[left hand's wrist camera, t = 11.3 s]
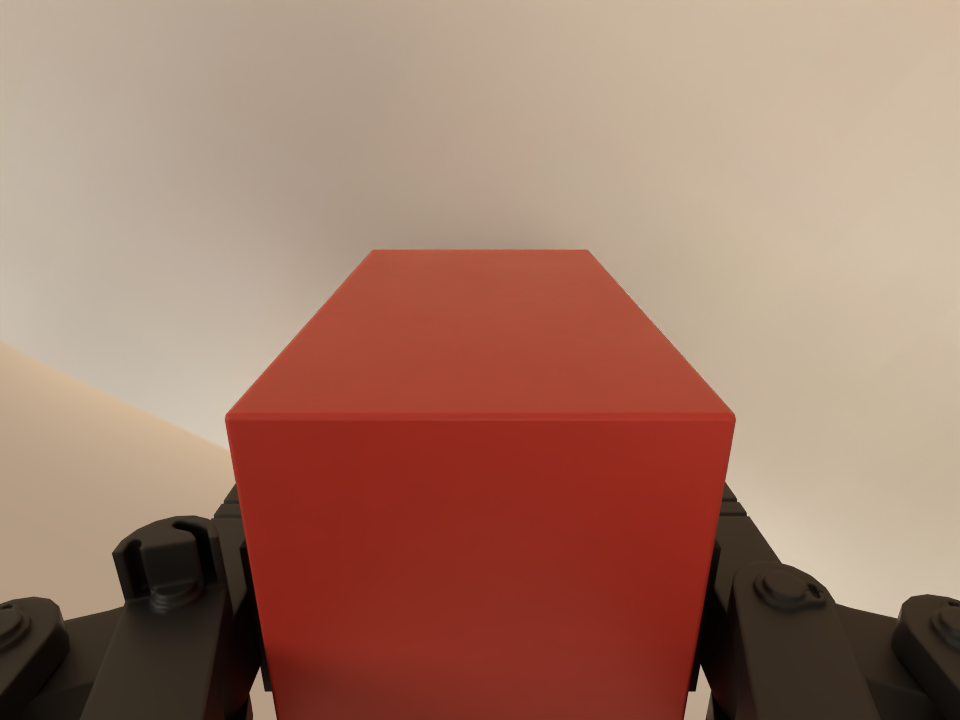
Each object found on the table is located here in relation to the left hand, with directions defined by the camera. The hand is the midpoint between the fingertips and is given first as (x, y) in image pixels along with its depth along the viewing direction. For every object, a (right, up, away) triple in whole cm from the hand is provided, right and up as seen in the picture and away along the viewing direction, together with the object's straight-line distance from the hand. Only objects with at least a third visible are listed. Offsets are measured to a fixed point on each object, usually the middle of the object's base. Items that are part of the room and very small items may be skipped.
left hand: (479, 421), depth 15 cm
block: (0, 0, +1) cm, 1 cm away
